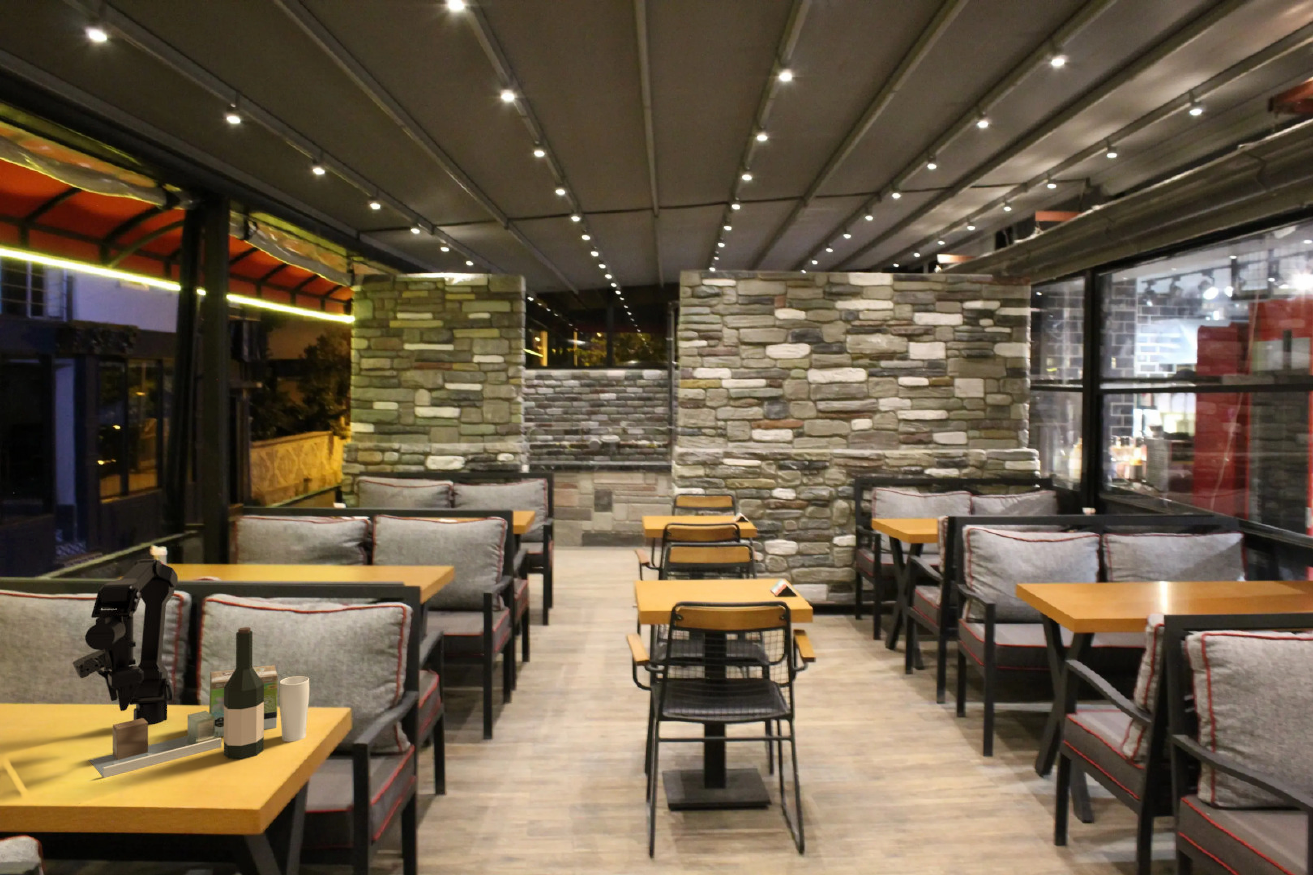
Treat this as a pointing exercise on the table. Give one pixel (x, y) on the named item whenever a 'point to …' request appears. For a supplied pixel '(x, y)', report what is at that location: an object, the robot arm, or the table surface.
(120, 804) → the table surface
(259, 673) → the tea box
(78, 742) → the table surface
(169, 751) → the display board
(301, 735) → the drinking glass
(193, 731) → the sage tin
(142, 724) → the block
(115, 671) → the robot arm
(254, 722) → the wine bottle
